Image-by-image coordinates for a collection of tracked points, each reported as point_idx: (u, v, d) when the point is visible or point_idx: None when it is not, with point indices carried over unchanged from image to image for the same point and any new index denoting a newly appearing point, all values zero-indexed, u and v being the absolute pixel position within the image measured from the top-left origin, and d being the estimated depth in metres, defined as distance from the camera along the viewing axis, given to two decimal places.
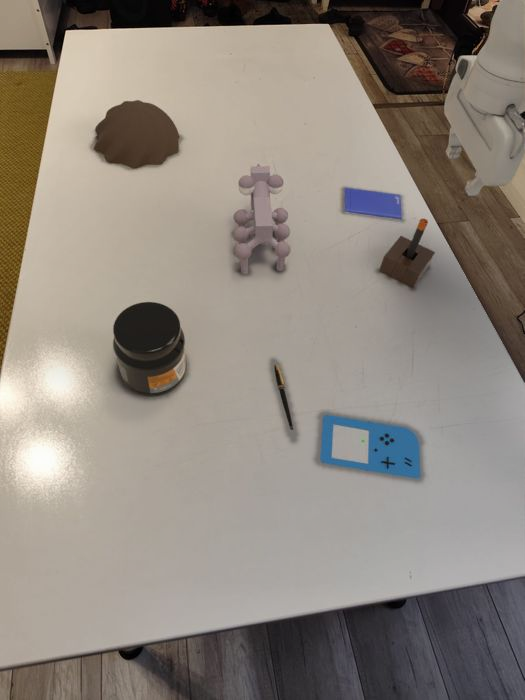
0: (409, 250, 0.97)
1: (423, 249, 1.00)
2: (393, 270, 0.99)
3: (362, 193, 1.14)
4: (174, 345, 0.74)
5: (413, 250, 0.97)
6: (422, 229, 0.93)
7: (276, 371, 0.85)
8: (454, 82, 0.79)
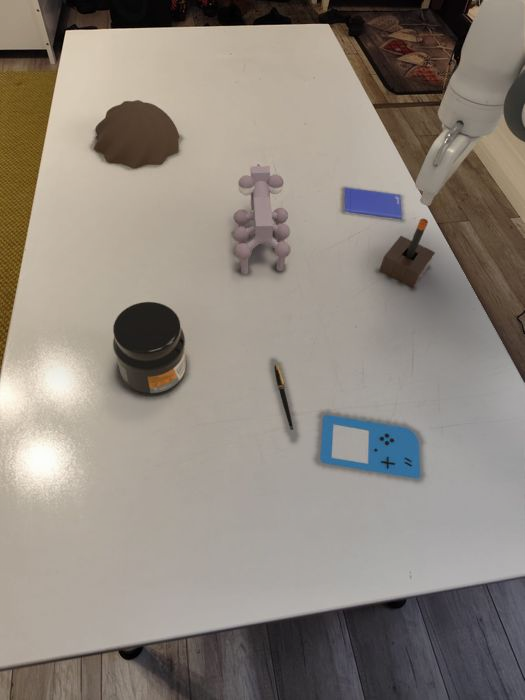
0: (409, 250, 0.97)
1: (423, 249, 1.00)
2: (393, 270, 0.99)
3: (362, 193, 1.14)
4: (174, 345, 0.74)
5: (413, 250, 0.97)
6: (422, 229, 0.93)
7: (276, 371, 0.85)
8: None
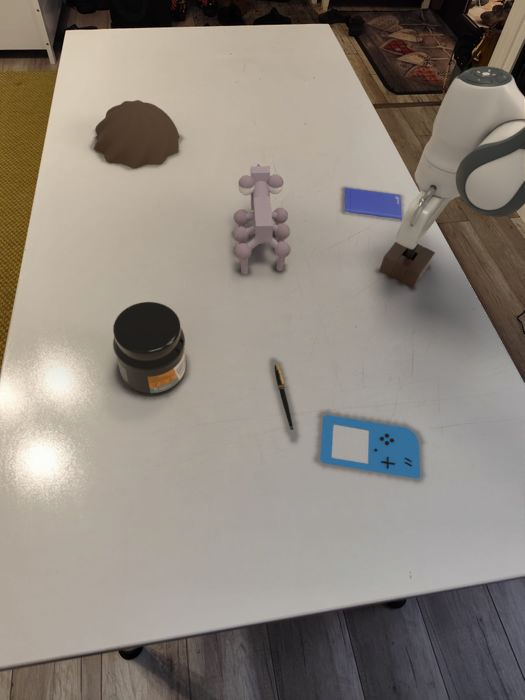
0: (409, 250, 0.97)
1: (423, 249, 1.00)
2: (393, 270, 0.99)
3: (362, 193, 1.14)
4: (174, 345, 0.74)
5: (413, 250, 0.97)
6: None
7: (276, 371, 0.85)
8: None
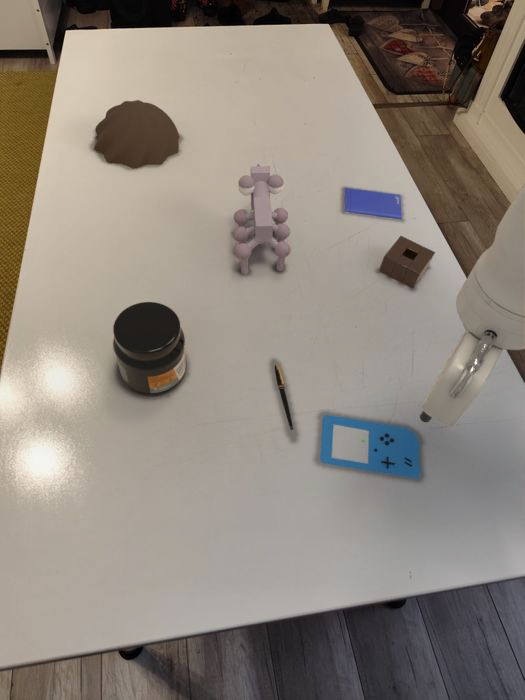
0: None
1: (423, 249, 1.00)
2: (393, 270, 0.99)
3: (362, 193, 1.14)
4: (174, 345, 0.74)
5: None
6: None
7: (276, 371, 0.85)
8: None
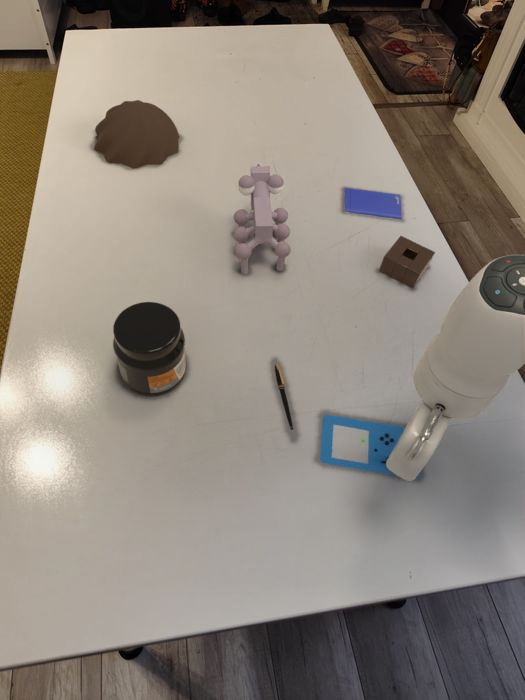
0: None
1: (423, 249, 1.00)
2: (393, 270, 0.99)
3: (362, 193, 1.14)
4: (174, 345, 0.74)
5: None
6: None
7: (276, 371, 0.85)
8: None
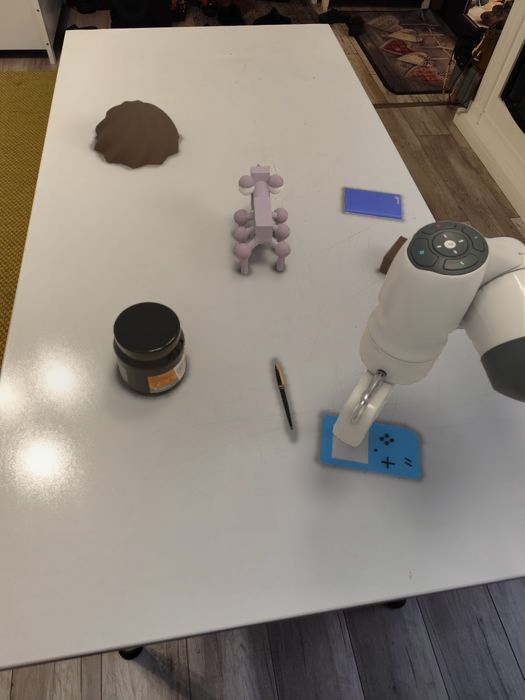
0: None
1: None
2: None
3: (362, 193, 1.14)
4: (174, 345, 0.74)
5: None
6: None
7: (276, 371, 0.85)
8: None
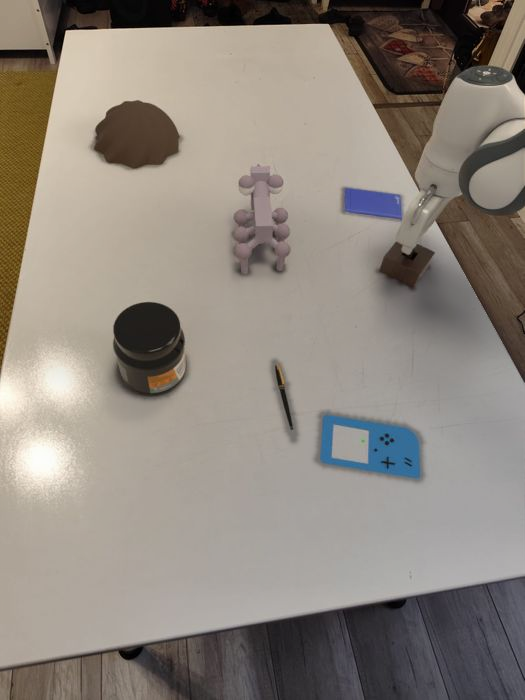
0: None
1: (423, 249, 1.00)
2: (393, 270, 0.99)
3: (362, 193, 1.14)
4: (174, 345, 0.74)
5: None
6: None
7: (277, 371, 0.85)
8: None
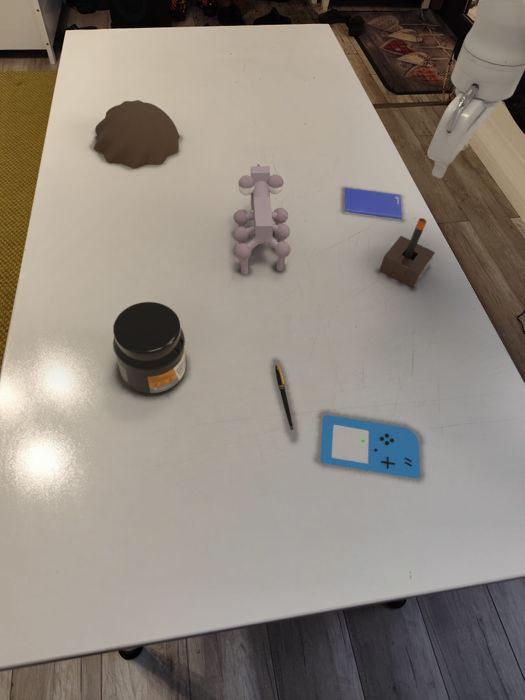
0: (408, 250, 0.97)
1: (423, 249, 1.00)
2: (393, 270, 0.99)
3: (362, 193, 1.14)
4: (174, 345, 0.74)
5: (412, 250, 0.97)
6: (421, 229, 0.93)
7: (277, 371, 0.85)
8: None
